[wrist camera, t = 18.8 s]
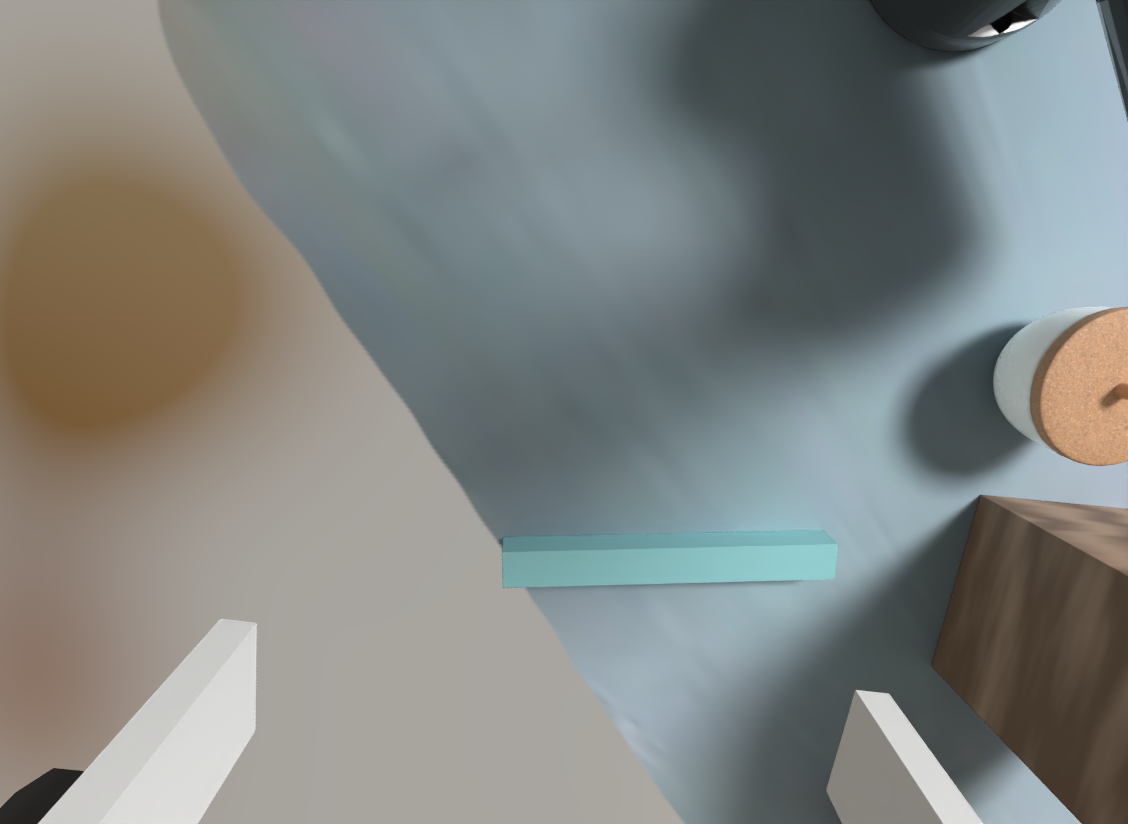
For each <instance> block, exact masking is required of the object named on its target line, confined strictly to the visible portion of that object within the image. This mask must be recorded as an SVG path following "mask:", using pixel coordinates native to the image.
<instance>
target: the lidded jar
mask: <svg viewBox="0 0 1128 824" xmlns="http://www.w3.org/2000/svg"><path fill="white" fill-rule="evenodd" d="M993 388H994V394H995V398H996V401H997V404H998V406H999V408H1000V410H1001V412H1002V413H1003V415H1004V416H1005V417H1006V419H1007V420H1008V421H1009V422H1010V423H1011V424H1012V425H1013V426H1014V427H1015V428H1016V429H1017V430H1018V431H1019V432H1021V433H1022V434H1023V435H1025V436H1026V437H1028V438H1029V439H1031V440H1032V441H1034V442H1036V443H1038V444H1039V445H1042V446H1044V447H1046V448H1048V449H1051V450H1053V451H1055V452H1057V453H1058V454H1060V455H1061V456H1064V457H1066V458H1068V459H1071V460H1073V461H1076V462H1078V463H1083V464H1087V465H1096V466H1104V465H1114V464H1118V463H1122V462H1126V461H1128V307H1118V308H1115V307H1099V306H1097V307H1081V308H1072V309H1066V310H1062V311H1058V312H1054V313H1051V314H1048V315H1046V316H1043V317H1041V318H1038V319H1036V320H1035V321H1033V322H1031V323H1030V324H1028V325H1027V326H1025V327H1024V328H1022V329H1021V330H1020V331H1019V332H1017V333H1016V334H1015V335H1014V336H1013V337H1012V338H1011V339H1010V340H1009V342H1008V343H1007V344H1006V346H1005V347H1004V348H1003V350H1002V351H1001V353H1000V355H999V357H998V359H997V361H996V364H995V369H994V377H993Z"/></svg>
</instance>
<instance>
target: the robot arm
mask: <svg viewBox="0 0 1128 824" xmlns="http://www.w3.org/2000/svg"><path fill="white" fill-rule="evenodd" d="M1060 1H1061V0H871V2H872V4H873V5H874V7H875V8H876V10H877V11H878V13H879V14H880V15H881V17H882V18H883V19H884V20H885V21H886V22H887V23H888V24H889V25H890V26H891V27H892V28H893V29H894V30H895V31H896V32H898V33H899V34H900V35H902V36H903V37H905V38H907V39H908V40H910V41H912V42H914V43H916V44H918V45H921V46H924V47H927V48H930V49H935V50H940V51H966V50H972V49H976V48H980V47H984V46H987V45H989V44H992V43H994V42H997V41H999V40H1001V39H1003V38H1006V37H1008V36H1010V35H1012V34H1015V33H1017V32H1019V31H1021V30H1023V29H1025V28H1026V27H1028V26H1030V25H1031V24H1033V23H1034V22H1036V21H1037V20H1038V19H1040V18H1041V17H1043V16H1044V15H1045V14H1047V13H1048V12H1049V11H1050V10H1052V9H1053V8H1054V7H1055V6H1056V5H1057V4H1058V3H1059V2H1060ZM1096 1H1097V2H1096V4H1097V7H1098V11H1099V15H1100V19H1101V22H1102V26H1103V30H1104V34H1105V38H1106V41H1107V45H1108V49H1109V53H1110V56H1111V60H1112V64H1113V68H1114V71H1115V75H1116V79H1117V83H1118V87H1119V90H1120V94H1121V98H1122V102H1123V105H1124V109H1125V113H1126V117H1127V121H1128V0H1096ZM256 645H257V623H254V622H246V621H236V620H227V619H220V620H219V621H218V622H217V623H216V624H215V625H214V627H213V628H212V629H211V630H210V631H209V632H208V633H207V635H206V636H205V637H204V638H203V639H202V640H201V641H200V642H199V643H198V645H197V646H196V647H195V648H194V649H193V650H192V651H191V652H190V653H189V655H188V656H187V657H186V658H185V659H184V660H183V661H182V662H181V664H180V665H179V666H178V667H177V668H176V669H175V670H174V671H173V673H172V674H171V675H170V676H169V677H168V678H167V679H166V680H165V682H164V683H163V684H162V685H161V686H160V687H159V688H158V689H157V691H156V692H155V693H154V694H153V695H152V696H151V697H150V698H149V700H148V701H147V702H146V703H145V704H144V705H143V706H142V707H141V709H140V710H139V711H138V712H137V713H136V714H135V716H133V717H132V719H131V720H130V721H129V722H128V723H127V724H126V726H124V728H123V729H122V730H121V731H120V732H119V733H118V734H117V735H116V737H115V738H114V739H113V740H112V741H111V742H110V743H109V744H108V745H107V747H106V748H105V749H104V750H103V751H102V752H101V753H100V755H99V756H98V757H97V758H96V759H95V760H94V761H93V762H92V764H91V765H90V766H89V767H88V768H87V769H86V770H85V771H77V770H67V769H56V768H53V769H52V770H50V771H48V772H47V773H45V774H44V775H42V776H41V777H39V778H38V779H36V780H34V781H33V782H31V783H30V784H28V785H27V786H25V787H24V788H22V789H20V790H19V791H17V792H16V793H15V794H14V795H13V796H12V797H11V798H10V799H9V800H8V801H7V802H6V803H5V804H4V805H3V806H2V807H1V808H0V824H198V822H199V821H200V819H201V818H202V816H203V814H204V813H205V811H206V809H207V808H208V806H209V805H210V803H211V801H212V799H213V798H214V797H215V795H216V793H217V792H218V790H219V788H220V787H221V785H222V784H223V782H224V780H225V779H226V777H227V776H228V774H229V772H230V771H231V769H232V767H233V766H234V764H235V762H236V761H237V759H238V758H239V756H240V754H241V753H242V751H243V750H244V748H245V746H246V745H247V743H248V742H249V740H250V738H251V737H252V735H253V733H254V732H255V725H256V718H255V717H256ZM826 791H827V793H828V795H829V798H830V800H831V802H832V804H833V806H834V808H835V810H836V812H837V814H838V816H839V818H840V820H841V822H842V824H983V823H982V821H981V820H980V819H979V817H978V816H977V814H976V813H975V812H974V810H973V809H972V808H971V806H970V805H969V803H968V802H967V801H966V799H965V798H964V797H963V795H962V794H961V792H960V791H959V790H958V788H957V787H956V785H955V784H954V783H953V781H952V780H951V779H950V777H949V776H948V774H947V773H946V772H945V770H944V769H943V767H942V766H941V765H940V763H939V762H938V761H937V759H936V758H935V756H934V755H933V754H932V752H931V751H930V750H929V748H928V747H927V745H926V744H925V743H924V741H923V740H922V738H921V737H920V736H919V734H918V733H917V732H916V730H915V729H914V727H913V726H912V725H911V723H910V722H909V721H908V719H907V718H906V716H905V715H904V714H903V712H902V711H901V709H900V708H899V707H898V705H897V704H896V703H895V701H894V700H893V698H892V697H891V696H890V694H888V693H879V692H870V691H861V690H855V693H854V697H853V700H852V704H851V707H850V710H849V714H848V717H847V721H846V724H845V727H844V731H843V734H842V738H841V741H840V745H839V748H838V751H837V755H836V758H835V762H834V765H833V768H832V772H831V775H830V779H829V782H828V786H827V789H826Z"/></svg>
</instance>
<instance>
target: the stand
mask: <svg viewBox="0 0 1128 824" xmlns="http://www.w3.org/2000/svg"><path fill="white" fill-rule="evenodd" d="M932 667H933V668H934V669H935V670H936V671H937V673H938V674H939V675H940V676H941V677H942V678H943V679H944V680H945V681H946V682H947V683H948V684H949V685H950V686H951V687H952V688H953V689H954V690H955V691H956V692H957V693H958V695H959V696H960V697H961V698H962V699H963V700H964V701H965V702H966V703H967V704H968V705H969V706H970V707H971V708H972V709H973V710H974V711H975V712H976V713H977V714H978V715H979V717H980V718H981V719H982V720H983V721H984V722H985V723H986V724H987V725H988V726H989V727H990V728H991V729H992V730H993V731H994V732H995V733H996V734H997V735H998V736H999V737H1000V739H1001V740H1002V741H1003V742H1004V743H1005V744H1006V745H1007V746H1008V747H1009V748H1010V749H1011V750H1012V751H1013V752H1014V753H1015V754H1016V755H1017V756H1018V757H1019V758H1020V759H1021V761H1022V762H1023V763H1024V764H1025V765H1026V766H1027V767H1028V768H1029V769H1030V770H1031V771H1032V772H1033V773H1034V774H1035V775H1036V776H1037V777H1038V778H1039V779H1040V780H1041V781H1042V783H1043V784H1044V785H1045V786H1046V787H1047V788H1048V789H1049V790H1050V791H1051V792H1052V793H1053V794H1054V795H1055V796H1056V797H1057V798H1058V799H1059V800H1060V801H1061V802H1062V803H1063V805H1064V806H1065V807H1066V808H1067V809H1068V810H1069V811H1070V812H1071V813H1072V814H1073V815H1074V816H1075V817H1076V818H1077V819H1078V820H1079V821H1080V822H1081V823H1082V824H1128V509H1122V508H1112V507H1101V506H1091V505H1081V504H1070V503H1060V502H1049V501H1039V500H1029V499H1018V498H1008V497H997V496H987V495H981V496H980V499H979V503H978V506H977V510H976V513H975V517H974V520H973V524H972V527H971V531H970V534H969V537H968V541H967V544H966V548H965V551H964V555H963V558H962V562H961V565H960V569H959V572H958V576H957V579H956V583H955V586H954V589H953V593H952V596H951V600H950V603H949V607H948V610H947V614H946V617H945V621H944V624H943V628H942V631H941V634H940V638H939V641H938V645H937V648H936V652H935V655H934V659H933V662H932Z"/></svg>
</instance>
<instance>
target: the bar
mask: <svg viewBox="0 0 1128 824" xmlns="http://www.w3.org/2000/svg"><path fill="white" fill-rule="evenodd" d="M837 550H838V543H836V542H835V541H834V540H833V539H832V538H831V537H830V536H829V535H828V534H827V533H826V532H825V531H824V530H791V531H747V532H703V533H660V534H616V535H573V536H529V537H503V547H502V570H503V588H522V587H560V586H597V585H635V584H672V583H709V582H747V581H784V580H822V579H834V577H835V568H836V559H837Z"/></svg>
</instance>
